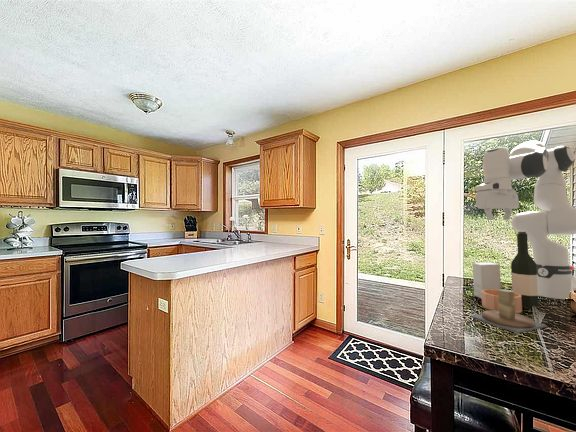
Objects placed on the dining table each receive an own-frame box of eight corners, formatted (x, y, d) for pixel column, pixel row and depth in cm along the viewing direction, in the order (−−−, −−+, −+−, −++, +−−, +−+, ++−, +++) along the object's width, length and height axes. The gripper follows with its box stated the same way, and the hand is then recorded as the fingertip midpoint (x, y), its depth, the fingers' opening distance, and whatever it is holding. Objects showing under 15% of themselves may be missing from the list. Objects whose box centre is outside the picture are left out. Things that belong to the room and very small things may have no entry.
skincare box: (492, 295, 117) (490, 262, 118) (502, 300, 111) (501, 264, 111) (473, 295, 118) (471, 262, 118) (482, 299, 111) (480, 264, 112)
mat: (499, 312, 95) (499, 311, 95) (546, 326, 82) (546, 324, 82) (472, 317, 91) (471, 315, 91) (517, 333, 78) (517, 331, 78)
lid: (499, 311, 95) (498, 284, 95) (545, 324, 82) (543, 293, 82) (473, 315, 91) (471, 287, 91) (517, 330, 78) (515, 298, 78)
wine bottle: (517, 305, 103) (513, 232, 104) (508, 299, 111) (505, 231, 112) (544, 307, 100) (540, 231, 101) (533, 301, 108) (529, 231, 109)
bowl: (495, 302, 107) (494, 288, 108) (529, 311, 96) (529, 295, 96) (475, 305, 104) (474, 290, 104) (508, 315, 92) (507, 298, 92)
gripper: (506, 188, 111) (507, 219, 110) (471, 187, 105) (473, 220, 104) (523, 186, 105) (524, 219, 104) (488, 184, 99) (489, 219, 98)
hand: (498, 219), depth 104 cm, fingers open, 8 cm apart
